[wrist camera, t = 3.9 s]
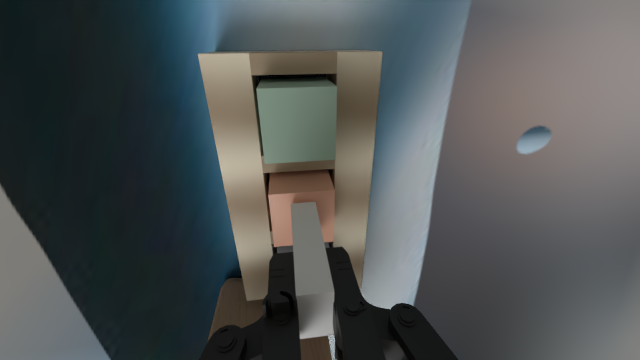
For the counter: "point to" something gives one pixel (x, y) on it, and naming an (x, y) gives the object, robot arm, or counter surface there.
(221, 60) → the wooden slotted tray
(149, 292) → the counter surface
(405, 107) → the counter surface
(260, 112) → the green button
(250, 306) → the block
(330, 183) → the terracotta button
